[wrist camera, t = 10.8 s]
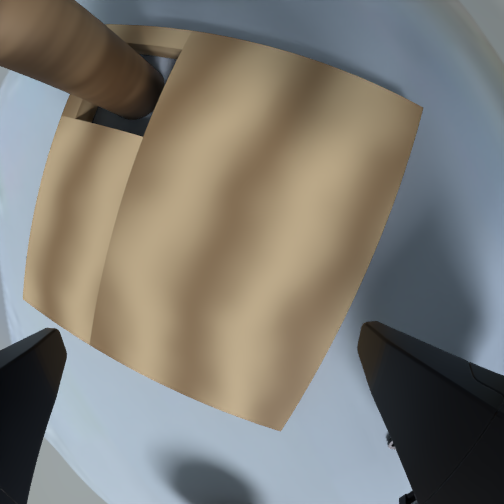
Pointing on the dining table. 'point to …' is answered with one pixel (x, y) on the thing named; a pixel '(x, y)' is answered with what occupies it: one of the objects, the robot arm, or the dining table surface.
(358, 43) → the dining table surface
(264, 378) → the stool top
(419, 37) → the dining table surface
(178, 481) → the dining table surface
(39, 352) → the robot arm
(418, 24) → the dining table surface
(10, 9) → the stool leg
